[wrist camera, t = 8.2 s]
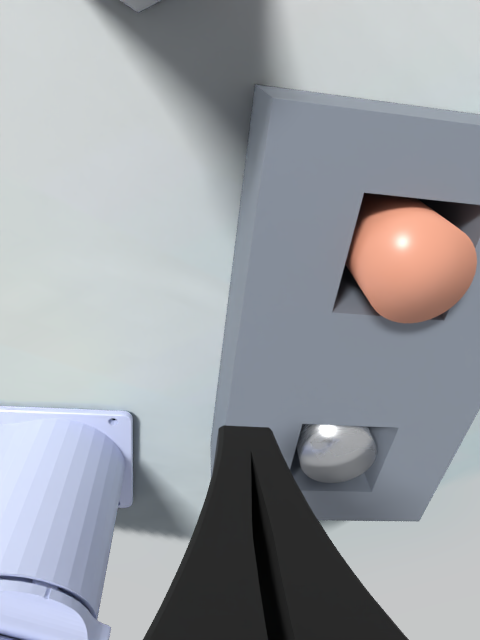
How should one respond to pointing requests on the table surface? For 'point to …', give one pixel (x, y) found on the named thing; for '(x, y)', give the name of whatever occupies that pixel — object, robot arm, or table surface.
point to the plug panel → (348, 296)
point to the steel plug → (335, 451)
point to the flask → (139, 4)
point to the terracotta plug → (409, 258)
